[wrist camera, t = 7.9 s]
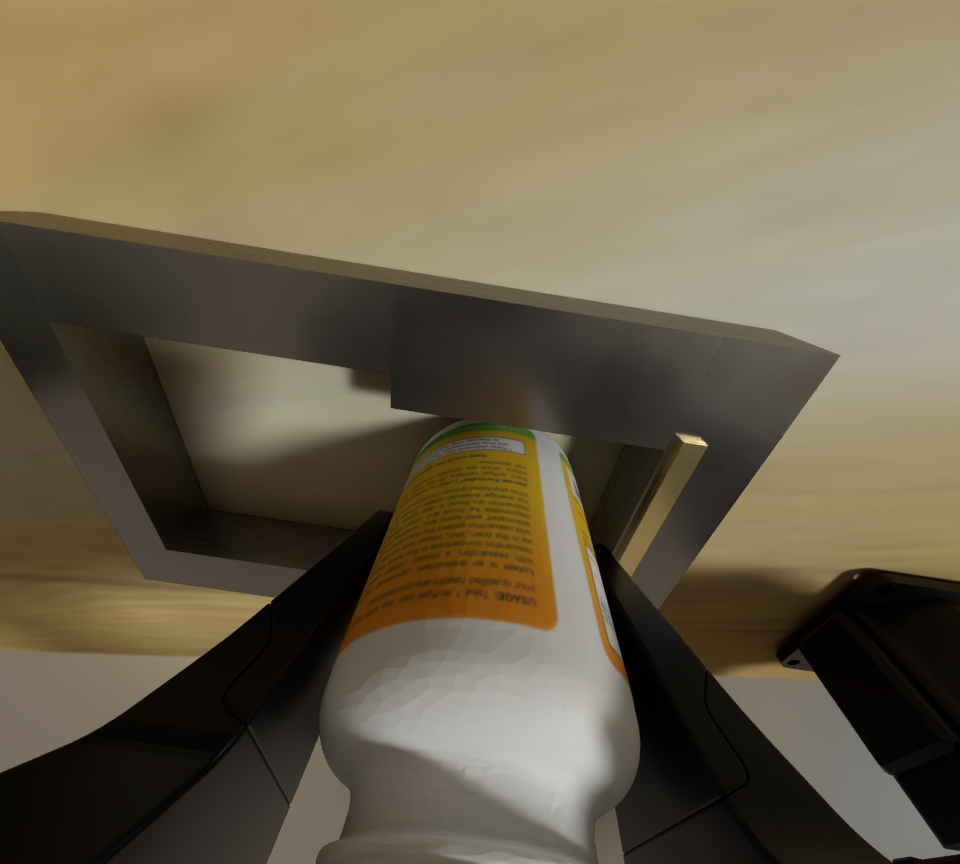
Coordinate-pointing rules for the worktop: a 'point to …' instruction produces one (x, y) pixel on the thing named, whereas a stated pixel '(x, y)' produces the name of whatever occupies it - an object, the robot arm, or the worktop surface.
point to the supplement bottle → (481, 668)
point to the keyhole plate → (414, 385)
